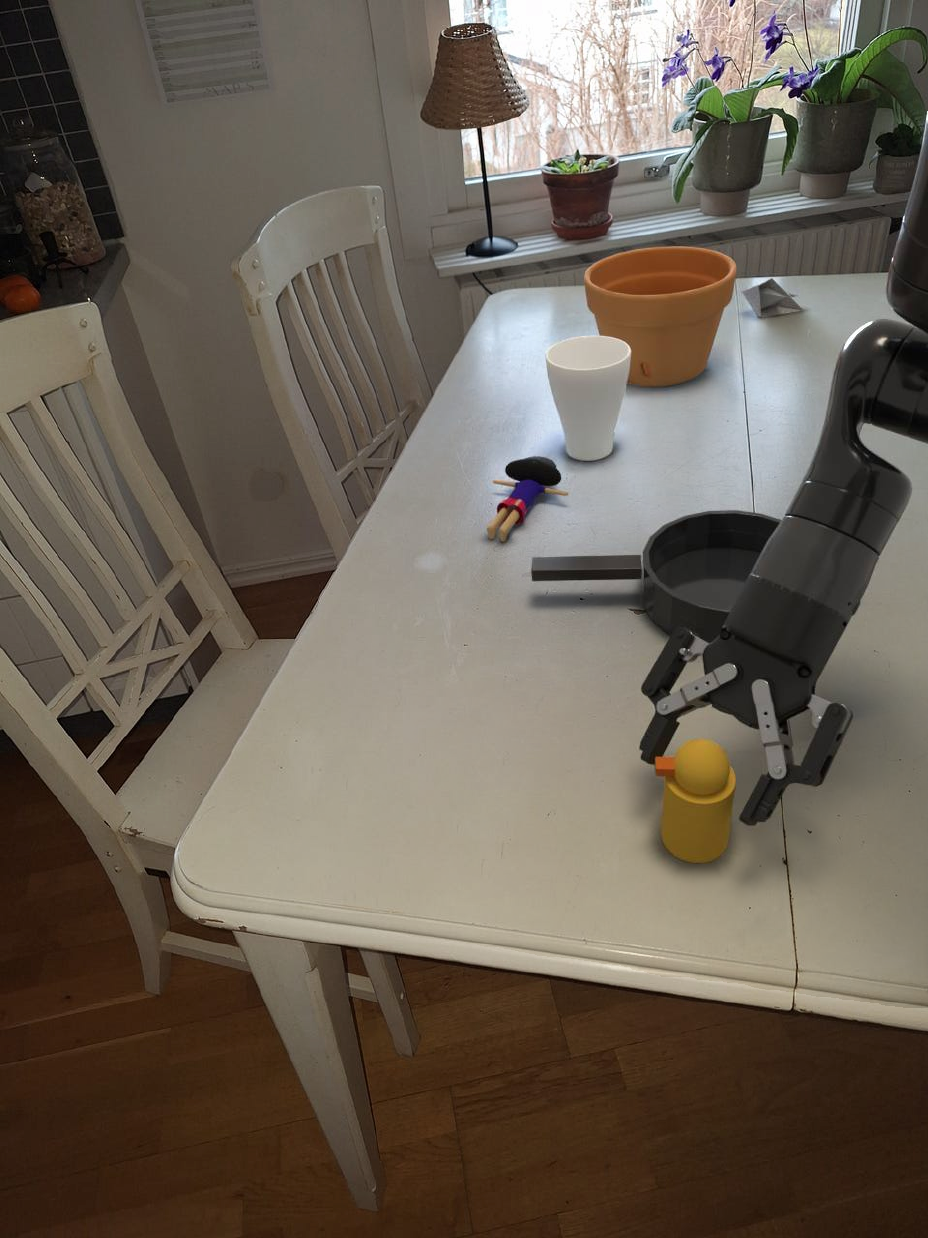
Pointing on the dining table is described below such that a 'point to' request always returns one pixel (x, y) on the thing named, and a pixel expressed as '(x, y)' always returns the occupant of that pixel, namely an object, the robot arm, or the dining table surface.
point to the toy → (524, 491)
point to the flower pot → (662, 308)
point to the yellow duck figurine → (696, 800)
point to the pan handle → (586, 568)
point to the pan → (701, 568)
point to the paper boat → (770, 299)
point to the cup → (588, 391)
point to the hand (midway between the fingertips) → (695, 791)
